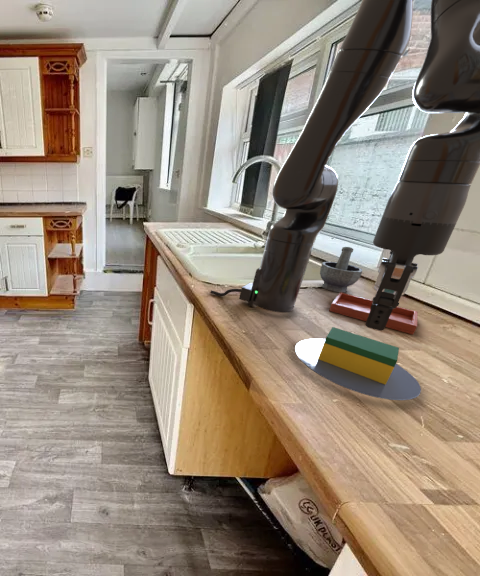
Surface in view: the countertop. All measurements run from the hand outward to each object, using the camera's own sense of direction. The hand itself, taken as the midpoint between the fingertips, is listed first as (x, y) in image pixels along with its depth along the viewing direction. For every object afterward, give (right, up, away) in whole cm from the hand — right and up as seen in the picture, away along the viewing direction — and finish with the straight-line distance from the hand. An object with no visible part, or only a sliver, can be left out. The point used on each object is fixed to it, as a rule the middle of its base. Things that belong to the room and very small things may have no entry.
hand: (375, 319), depth 49 cm
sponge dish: (+22, -2, +26) cm, 34 cm away
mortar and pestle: (+27, +5, +43) cm, 51 cm away
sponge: (-1, -8, +4) cm, 9 cm away
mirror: (-1, -9, +4) cm, 10 cm away
